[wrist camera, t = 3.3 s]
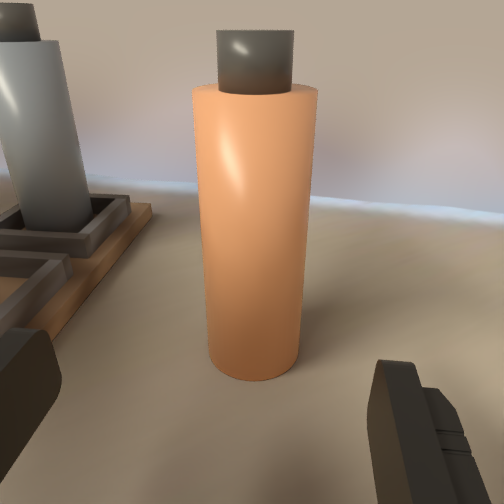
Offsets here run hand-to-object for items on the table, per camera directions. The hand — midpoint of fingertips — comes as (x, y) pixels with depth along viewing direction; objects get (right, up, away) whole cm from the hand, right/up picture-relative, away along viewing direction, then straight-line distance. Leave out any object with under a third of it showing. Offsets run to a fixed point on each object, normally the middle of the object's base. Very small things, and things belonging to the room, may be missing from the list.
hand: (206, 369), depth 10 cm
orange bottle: (+1, -2, +12) cm, 12 cm away
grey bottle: (-14, +5, +22) cm, 26 cm away
